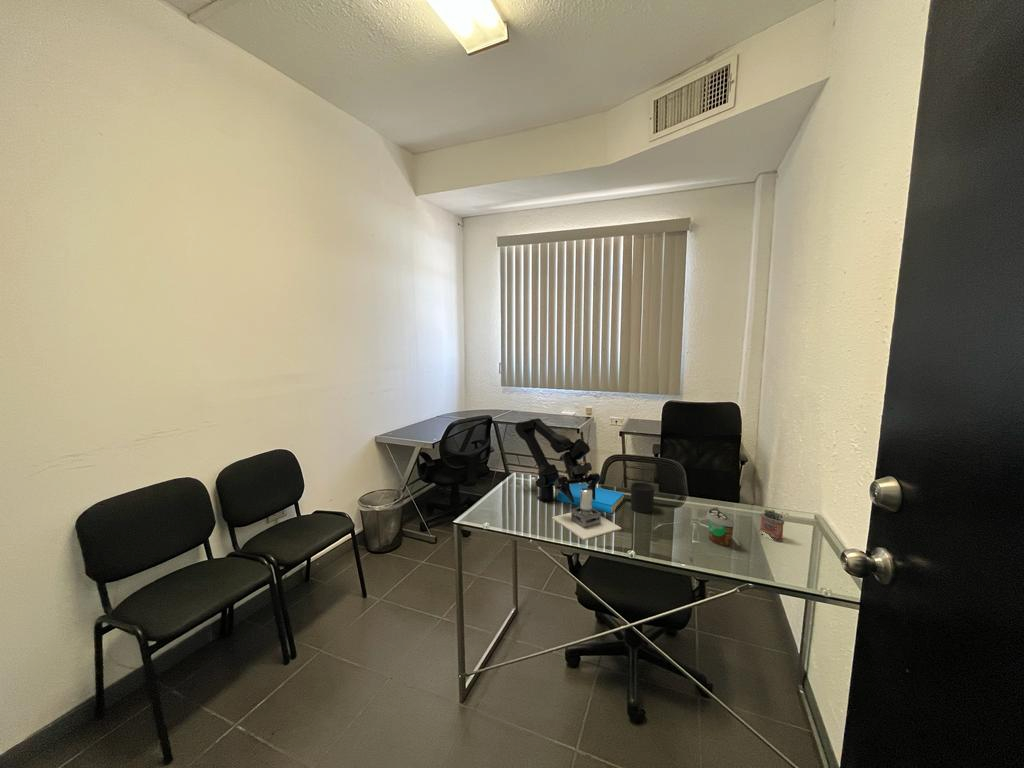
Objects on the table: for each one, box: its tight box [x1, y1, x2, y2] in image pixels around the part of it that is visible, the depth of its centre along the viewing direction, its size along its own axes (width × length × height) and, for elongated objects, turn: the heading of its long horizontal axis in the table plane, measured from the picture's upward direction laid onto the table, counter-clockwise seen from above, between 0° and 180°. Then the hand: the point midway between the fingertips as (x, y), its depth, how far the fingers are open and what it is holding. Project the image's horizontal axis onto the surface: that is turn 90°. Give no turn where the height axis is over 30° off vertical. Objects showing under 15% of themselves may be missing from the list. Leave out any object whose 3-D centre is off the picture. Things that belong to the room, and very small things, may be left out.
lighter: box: [759, 508, 785, 543], centre depth 145 cm, size 8×3×10 cm, turn 23°
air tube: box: [579, 488, 592, 522], centre depth 155 cm, size 5×5×13 cm
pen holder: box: [630, 482, 655, 514], centre depth 170 cm, size 9×9×10 cm
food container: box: [705, 506, 735, 548], centre depth 143 cm, size 12×6×10 cm, turn 178°
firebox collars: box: [570, 506, 602, 529], centre depth 156 cm, size 8×8×5 cm
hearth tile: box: [551, 512, 622, 541], centre depth 156 cm, size 20×18×1 cm
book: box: [556, 483, 625, 514], centre depth 179 cm, size 17×4×25 cm
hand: (583, 501), depth 156 cm, fingers open, 9 cm apart
